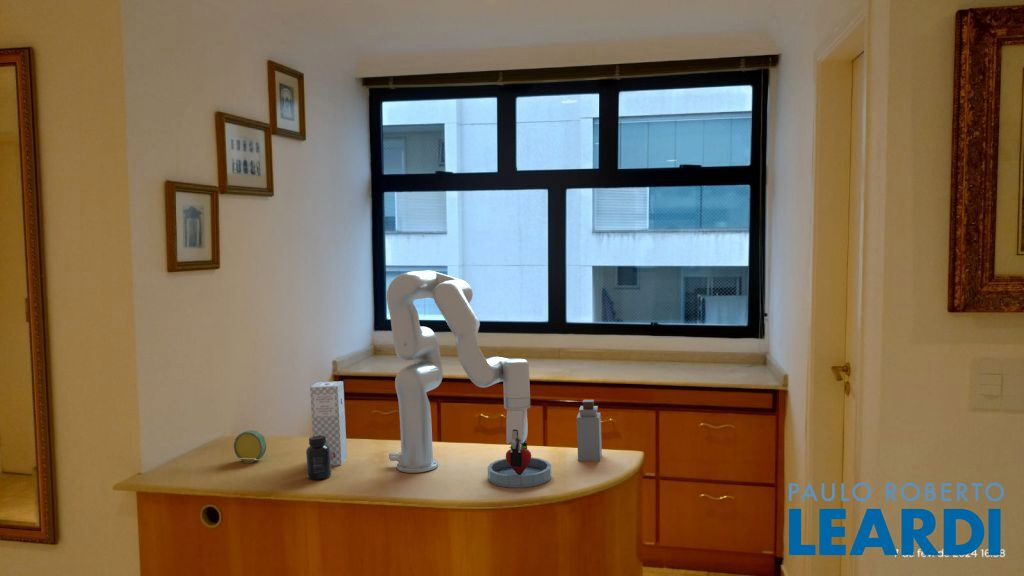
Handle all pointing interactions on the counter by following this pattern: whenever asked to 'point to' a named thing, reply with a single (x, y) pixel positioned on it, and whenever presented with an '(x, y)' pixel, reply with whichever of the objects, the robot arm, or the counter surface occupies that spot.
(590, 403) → the perfume bottle
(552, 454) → the counter surface
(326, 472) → the supplement bottle
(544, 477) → the slate dish
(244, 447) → the decorative artifact
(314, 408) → the box
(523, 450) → the strawberry
